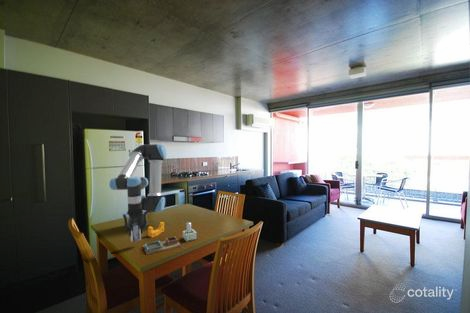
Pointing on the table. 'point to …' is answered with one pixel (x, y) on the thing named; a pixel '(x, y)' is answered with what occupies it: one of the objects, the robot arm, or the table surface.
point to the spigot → (135, 232)
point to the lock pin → (188, 227)
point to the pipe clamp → (157, 231)
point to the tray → (189, 235)
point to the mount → (161, 245)
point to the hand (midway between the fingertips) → (135, 239)
